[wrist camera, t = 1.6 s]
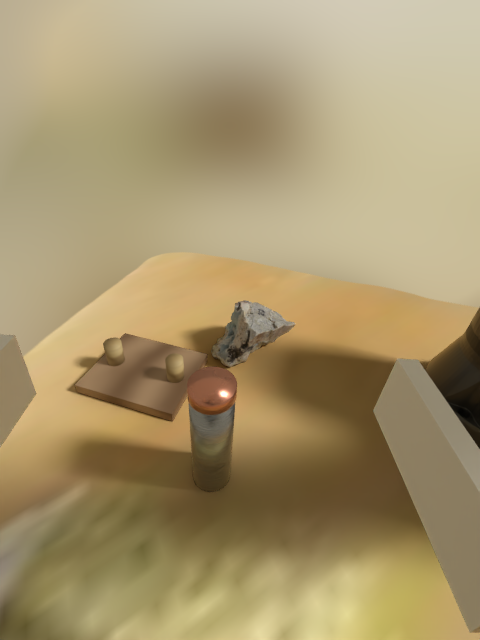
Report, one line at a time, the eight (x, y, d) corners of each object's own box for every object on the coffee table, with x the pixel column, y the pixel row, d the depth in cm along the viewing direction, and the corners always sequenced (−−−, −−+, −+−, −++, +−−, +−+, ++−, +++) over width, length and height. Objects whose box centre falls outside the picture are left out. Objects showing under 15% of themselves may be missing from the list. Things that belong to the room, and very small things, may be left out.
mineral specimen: (233, 364, 50) (272, 394, 42) (192, 343, 46) (227, 372, 37) (266, 310, 51) (310, 329, 42) (228, 283, 46) (271, 299, 38)
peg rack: (207, 361, 43) (207, 337, 41) (172, 421, 35) (170, 396, 33) (126, 340, 46) (121, 316, 43) (77, 392, 38) (68, 366, 35)
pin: (235, 461, 32) (243, 373, 25) (223, 497, 29) (227, 409, 22) (201, 450, 33) (198, 361, 26) (185, 484, 30) (178, 395, 23)
